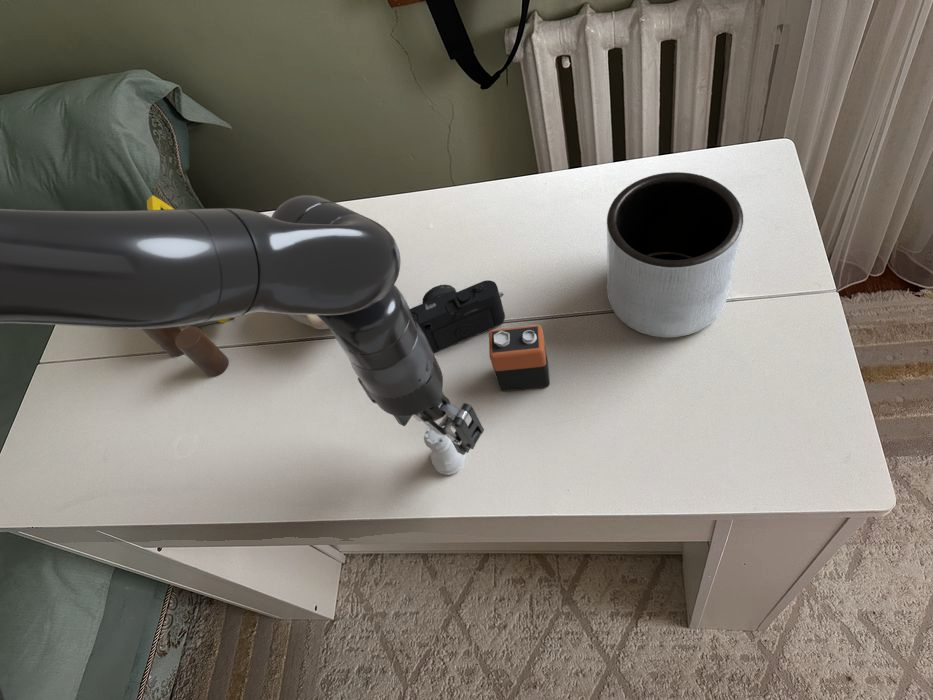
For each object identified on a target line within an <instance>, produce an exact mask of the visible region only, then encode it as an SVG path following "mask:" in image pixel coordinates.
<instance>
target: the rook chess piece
mask: <svg viewBox="0 0 933 700" xmlns="http://www.w3.org/2000/svg"><path fill="white" fill-rule="evenodd" d="M423 442H424V444H425V445H426V447H427V448H429V449H430V450H431V454H430V458H431V463H432V466H433V468H434V469H435V470H436V472H438V473H440V474H442V475H453V474H455V473H457V472H459V471H460V470H461V469H462V468H463V467H464V465H465V463H466V459H467V456H466V453H465V454H464V455H462V454H460V453H458V452H457V450H456V448H455V446H454V445H453V443H452V440H451V439H450V438H448V437H447V436H446V435H441V434H437V433H435V432H434V431H433V430H432V429H431V428H429V427H428V426H427V428H426V430H425V432H424V435H423Z"/></svg>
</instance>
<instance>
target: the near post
mask: <svg viewBox="0 0 933 700" xmlns="http://www.w3.org/2000/svg"><path fill="white" fill-rule="evenodd" d="M181 330H182V331H181V332H180V333H179V334H178V335H177V337H176V340H175V343H176V346H177V347H178V348H179V349H180V350H181V351H182V352H183V353H184V354H183V355H186V357H187V358H188V359H189V360H190V361H191V362H193V364H195V365H196V366H197V367H198V368H199V369H200V370H201V371H202V372H203V373H204V374H205V375H206V376H208V377H211V378H214V377H215V378H216V377H218V376H220V375H222V374H223V373H224V372H225V371H226V370H227V369H228V367H229V363H230V362H229V361H230V360H229V358H228V357H227V355H225V353H224V352H223V351H222V350H221V349H220V348H219V347H218V346H217V344H215V343H214V342H213V341H212V340H211V339H210V337H208V335H206V334H205V332H203V331H202V329H200V328H199V327H195V326H190V325H189V326H187V327H185V328H183V329H181Z"/></svg>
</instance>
